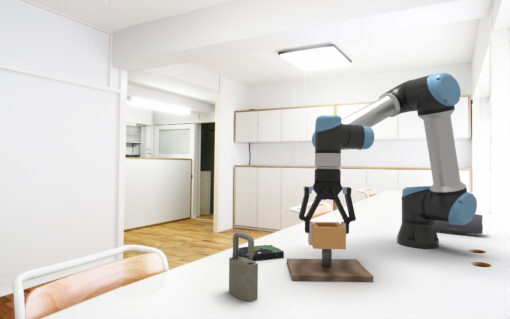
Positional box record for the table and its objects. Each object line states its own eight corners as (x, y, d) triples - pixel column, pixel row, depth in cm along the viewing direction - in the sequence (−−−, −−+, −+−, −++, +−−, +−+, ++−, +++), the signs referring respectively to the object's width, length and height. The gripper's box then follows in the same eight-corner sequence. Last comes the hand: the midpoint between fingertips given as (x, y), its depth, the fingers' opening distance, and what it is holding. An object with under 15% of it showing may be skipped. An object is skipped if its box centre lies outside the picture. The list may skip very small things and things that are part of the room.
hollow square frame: (338, 241, 104) (338, 222, 104) (345, 249, 95) (346, 227, 95) (308, 241, 104) (309, 221, 104) (313, 248, 95) (314, 227, 95)
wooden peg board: (355, 264, 107) (356, 222, 107) (373, 282, 91) (373, 233, 91) (286, 263, 107) (287, 222, 107) (292, 280, 91) (292, 232, 91)
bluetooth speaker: (481, 234, 155) (482, 212, 155) (482, 238, 147) (482, 215, 147) (426, 228, 167) (426, 208, 167) (424, 231, 159) (424, 210, 159)
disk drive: (243, 264, 107) (284, 259, 113) (243, 256, 107) (284, 250, 113) (232, 256, 117) (271, 251, 123) (232, 248, 117) (271, 243, 123)
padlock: (246, 302, 77) (247, 236, 77) (226, 291, 83) (226, 231, 83) (260, 298, 79) (260, 234, 79) (238, 288, 86) (239, 229, 86)
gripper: (360, 168, 103) (359, 242, 103) (289, 167, 103) (288, 240, 103) (368, 168, 95) (367, 248, 95) (292, 167, 96) (291, 246, 95)
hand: (326, 244), depth 99 cm, fingers closed on hollow square frame, 9 cm apart
